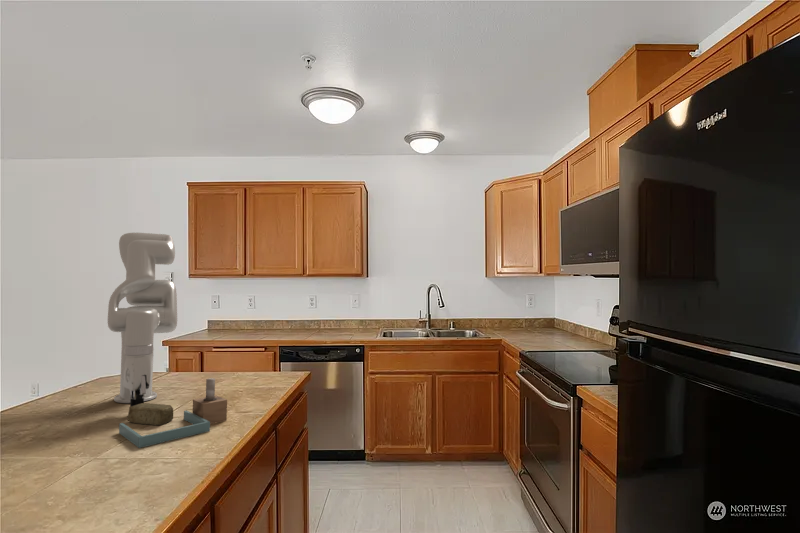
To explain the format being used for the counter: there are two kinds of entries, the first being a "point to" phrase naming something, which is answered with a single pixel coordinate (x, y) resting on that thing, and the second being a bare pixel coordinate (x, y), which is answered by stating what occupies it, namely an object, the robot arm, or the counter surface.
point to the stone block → (150, 414)
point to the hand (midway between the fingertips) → (136, 411)
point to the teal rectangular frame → (155, 438)
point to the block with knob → (211, 405)
